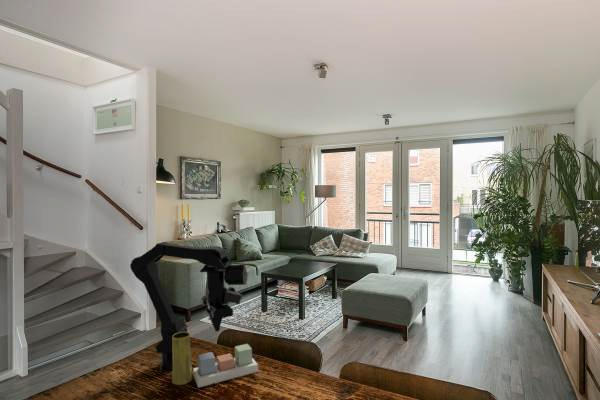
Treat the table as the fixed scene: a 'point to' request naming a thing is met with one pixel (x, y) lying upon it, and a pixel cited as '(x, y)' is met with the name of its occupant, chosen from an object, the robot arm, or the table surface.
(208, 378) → the button board
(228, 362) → the salmon block
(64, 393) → the table surface
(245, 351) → the sage button
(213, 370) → the pale blue block
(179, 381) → the vase
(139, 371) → the table surface
